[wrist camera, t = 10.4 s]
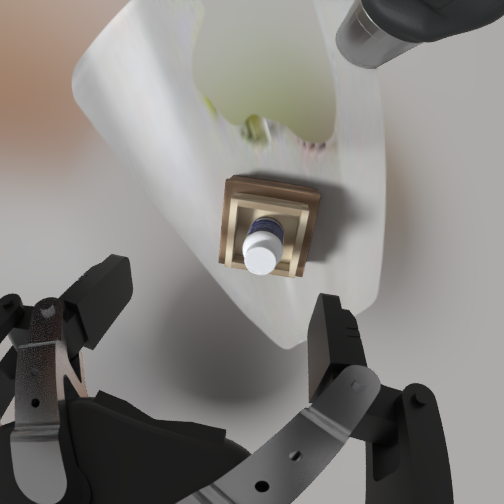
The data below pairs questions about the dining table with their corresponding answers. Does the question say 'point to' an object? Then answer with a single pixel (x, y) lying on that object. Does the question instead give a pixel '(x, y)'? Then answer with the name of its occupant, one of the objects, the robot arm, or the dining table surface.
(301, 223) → the top crate
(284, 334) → the dining table surface
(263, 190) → the box
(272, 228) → the pill bottle
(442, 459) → the robot arm
